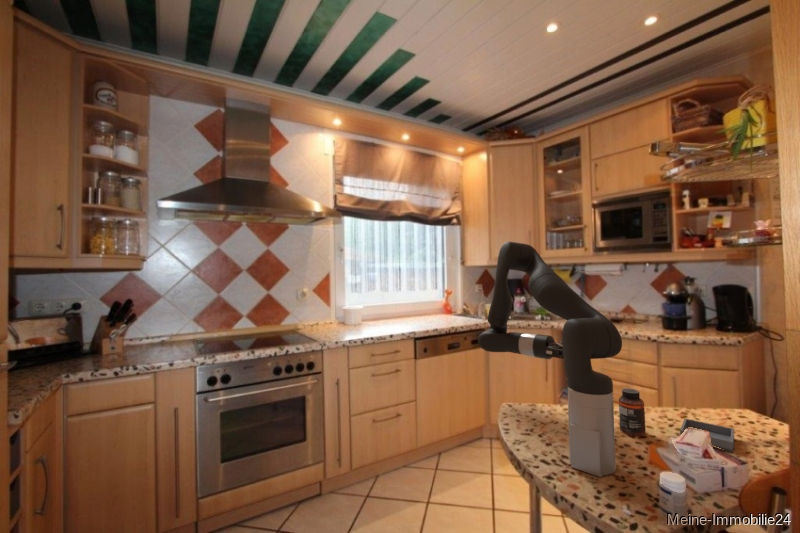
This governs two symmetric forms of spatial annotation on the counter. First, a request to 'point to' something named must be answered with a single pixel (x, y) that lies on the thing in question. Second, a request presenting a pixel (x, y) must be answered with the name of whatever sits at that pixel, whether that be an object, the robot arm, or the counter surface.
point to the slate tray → (713, 433)
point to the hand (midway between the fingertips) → (590, 353)
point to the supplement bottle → (631, 413)
